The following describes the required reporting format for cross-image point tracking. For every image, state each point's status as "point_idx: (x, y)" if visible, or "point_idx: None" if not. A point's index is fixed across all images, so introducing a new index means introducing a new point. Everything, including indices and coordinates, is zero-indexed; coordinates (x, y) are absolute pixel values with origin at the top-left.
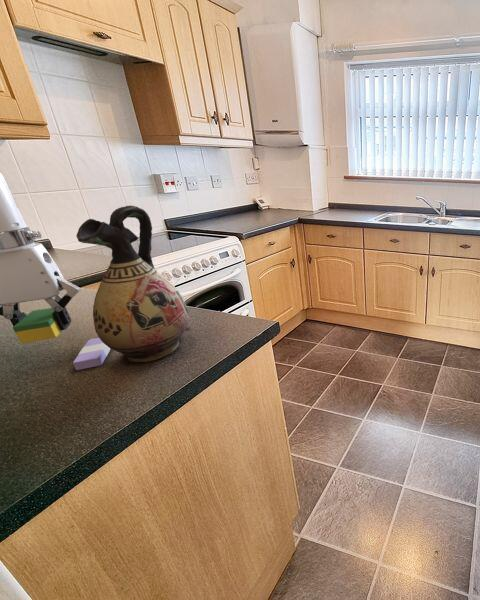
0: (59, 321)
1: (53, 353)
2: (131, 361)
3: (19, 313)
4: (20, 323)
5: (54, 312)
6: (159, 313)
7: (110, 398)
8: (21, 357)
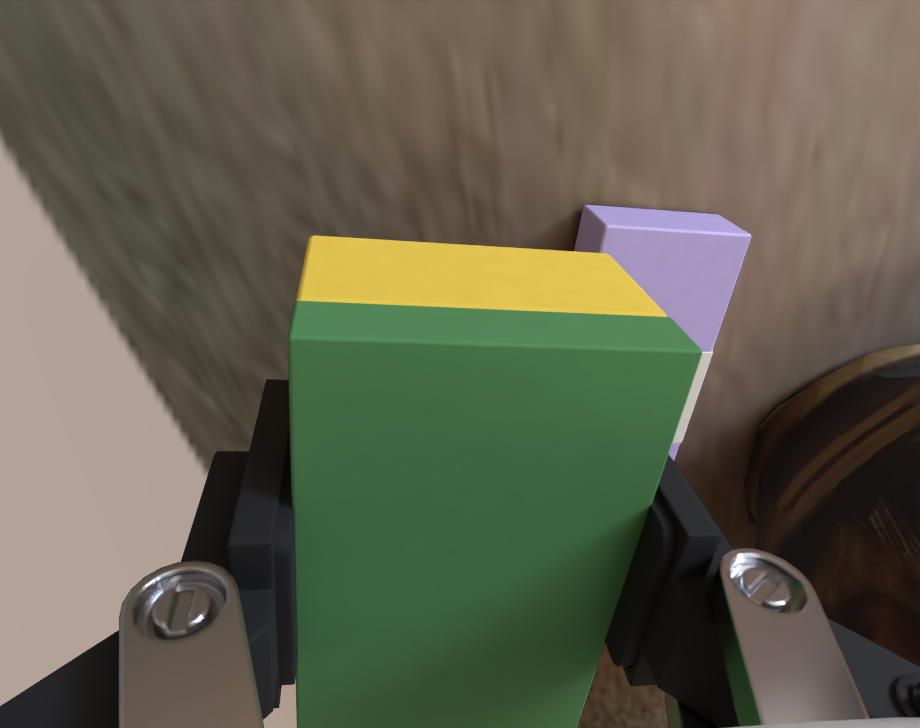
0: None
1: (332, 171)
2: (754, 522)
3: (272, 647)
4: (333, 696)
5: (644, 678)
6: None
7: (647, 703)
8: (86, 104)
